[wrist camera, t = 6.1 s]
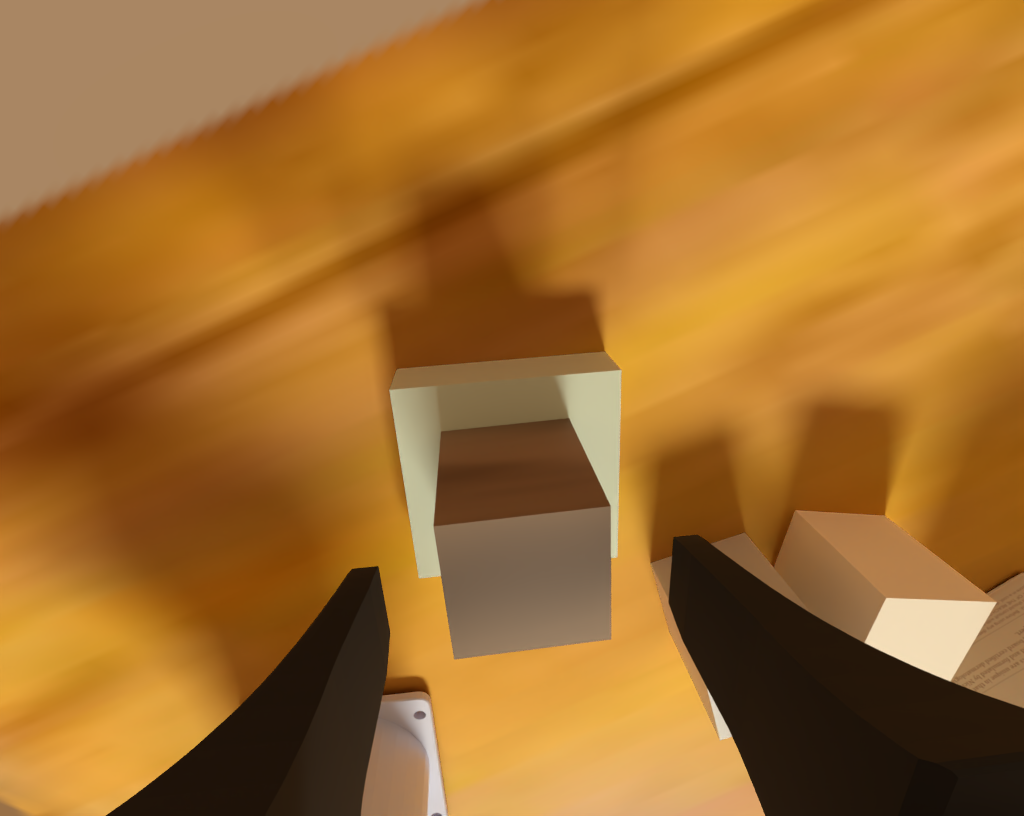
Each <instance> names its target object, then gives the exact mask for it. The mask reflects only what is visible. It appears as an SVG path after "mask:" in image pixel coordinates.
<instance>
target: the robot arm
mask: <svg viewBox="0 0 1024 816" xmlns="http://www.w3.org/2000/svg"><path fill="white" fill-rule="evenodd" d="M668 603H669V606H670V608H671V611H672V614H673V617H674V620H675V622H676V625H677V628H678V630H679V633H680V635H681V638H682V640H683V643H684V645H685V647H686V649H687V651H688V652H689V654H690V656H691V658H692V660H693V662H694V664H695V666H696V668H697V670H698V672H699V674H700V676H701V677H702V679H703V681H704V683H705V685H706V687H707V689H708V691H709V693H710V695H711V696H712V698H713V700H714V702H715V704H716V706H717V708H718V710H719V712H720V714H721V715H722V717H723V719H724V721H725V723H726V725H727V727H728V729H729V731H730V733H731V735H732V737H733V739H734V741H735V743H736V745H737V748H738V750H739V752H740V754H741V757H742V759H743V762H744V764H745V767H746V769H747V771H748V774H749V776H750V779H751V781H752V784H753V786H754V788H755V791H756V793H757V796H758V798H759V801H760V803H761V806H762V808H763V811H764V814H765V816H1024V708H1022V707H1019V706H1016V705H1013V704H1010V703H1008V702H1005V701H1002V700H999V699H996V698H993V697H990V696H987V695H984V694H981V693H979V692H976V691H973V690H971V689H968V688H966V687H963V686H961V685H958V684H956V683H953V682H951V681H948V680H946V679H943V678H940V677H938V676H936V675H933V674H931V673H929V672H926V671H924V670H922V669H919V668H917V667H914V666H912V665H910V664H908V663H906V662H904V661H901V660H899V659H897V658H895V657H893V656H891V655H889V654H886V653H884V652H882V651H880V650H878V649H876V648H874V647H872V646H870V645H868V644H866V643H864V642H862V641H860V640H858V639H856V638H854V637H852V636H851V635H849V634H847V633H845V632H843V631H841V630H840V629H838V628H836V627H834V626H832V625H831V624H829V623H827V622H825V621H823V620H822V619H820V618H818V617H817V616H815V615H813V614H812V613H810V612H808V611H807V610H805V609H804V608H802V607H801V606H799V605H797V604H796V603H794V602H793V601H791V600H789V599H788V598H786V597H785V596H783V595H782V594H780V593H779V592H777V591H776V590H774V589H773V588H771V587H770V586H768V585H767V584H766V583H764V582H763V581H761V580H760V579H758V578H757V577H756V576H754V575H753V574H751V573H750V572H749V571H747V570H746V569H744V568H743V567H742V566H740V565H739V564H738V563H736V562H735V561H733V560H732V559H731V558H729V557H728V556H727V555H725V554H724V553H723V552H721V551H720V550H719V549H717V548H716V547H714V546H713V545H712V544H710V543H709V542H708V541H706V540H705V539H703V538H702V537H700V536H699V535H690V536H679V537H674V539H673V551H672V564H671V576H670V588H669V600H668ZM389 640H390V629H389V623H388V618H387V612H386V606H385V601H384V595H383V590H382V584H381V579H380V573H379V567H378V566H376V567H366V568H356V569H352V570H351V571H350V572H349V573H348V574H347V576H346V577H345V579H344V580H343V582H342V583H341V585H340V586H339V587H338V589H337V590H336V592H335V593H334V595H333V596H332V597H331V599H330V600H329V602H328V603H327V604H326V606H325V607H324V608H323V610H322V611H321V613H320V614H319V615H318V617H317V618H316V619H315V620H314V622H313V623H312V624H311V626H310V627H309V628H308V630H307V631H306V632H305V634H304V635H303V636H302V637H301V639H300V640H299V641H298V642H297V644H296V645H295V646H294V647H293V648H292V650H291V651H290V652H289V653H288V654H287V655H286V657H285V658H284V659H283V660H282V661H281V663H280V664H279V665H278V666H277V667H276V668H275V670H274V671H273V672H272V673H271V674H270V675H269V676H268V677H267V678H266V680H265V681H264V682H263V683H262V684H261V685H260V686H259V687H258V688H257V689H256V690H255V691H254V692H253V693H252V694H251V695H250V696H249V697H248V698H247V699H246V700H245V702H244V703H243V704H242V705H241V706H240V707H239V708H238V709H237V710H235V711H234V712H233V713H232V714H231V715H230V716H229V717H228V718H227V719H226V720H225V721H224V722H222V723H221V724H220V725H219V726H218V727H217V728H216V729H215V730H214V731H212V732H211V733H210V734H209V735H208V736H207V737H206V738H205V739H204V740H202V741H201V742H200V743H199V744H198V745H197V746H196V747H195V748H193V749H192V750H191V751H190V752H189V753H187V754H186V755H185V756H184V757H183V758H181V759H180V760H179V761H178V762H176V763H175V764H174V765H173V766H172V767H170V768H169V769H168V770H167V771H165V772H164V773H163V774H161V775H160V776H159V777H158V778H156V779H155V780H154V781H152V782H151V783H150V784H149V785H147V786H146V787H145V788H143V789H142V790H141V791H139V792H138V793H137V794H135V795H134V796H133V797H131V798H130V799H129V800H127V801H126V802H125V803H123V804H122V805H120V806H119V807H117V808H116V809H115V810H113V811H112V812H110V813H109V814H107V815H106V816H448V810H447V804H446V797H445V791H444V784H443V777H442V771H441V764H440V758H439V751H438V744H437V738H436V731H435V725H434V718H433V711H432V705H431V698H430V696H429V695H428V694H427V693H425V692H409V693H400V694H391V695H383V690H384V685H385V680H386V675H387V664H388V653H389Z"/></svg>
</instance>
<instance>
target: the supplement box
mask: <svg viewBox="0 0 1024 816" xmlns="http://www.w3.org/2000/svg"><path fill="white" fill-rule="evenodd" d="M986 594H987V595H988V596H989V597H991V598H992V599H993V600H995V601H996V602H997V603H996V604H995V606H994V608H993V609H992V611H991V613H990V615H989V616H988V618H987V620H986V621H985V623H984V625H983V627H982V628H981V630H980V632H979V633H978V635H977V637H976V638H975V640H974V642H973V644H972V645H971V647H970V649H969V650H968V652H967V654H966V656H965V657H964V659H963V661H962V662H961V664H960V666H959V668H958V669H957V671H956V673H955V674H954V676H953V678H952V679H951V682H953V683H956V684H958V685H961V686H963V687H966V688H968V689H971V690H973V691H976V692H979V693H981V694H984V695H987V696H990V697H993V698H996V699H999V700H1002V701H1005V702H1008V703H1010V704H1013V705H1016V706H1019V707H1022V708H1024V572H1023V573H1020V574H1018V575H1017V576H1015V577H1013V578H1011V579H1009V580H1008V581H1006V582H1005V583H1003V584H1001V585H1000V586H998V587H996V588H995V589H993V590H991V591H990V592H988V593H986Z"/></svg>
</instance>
